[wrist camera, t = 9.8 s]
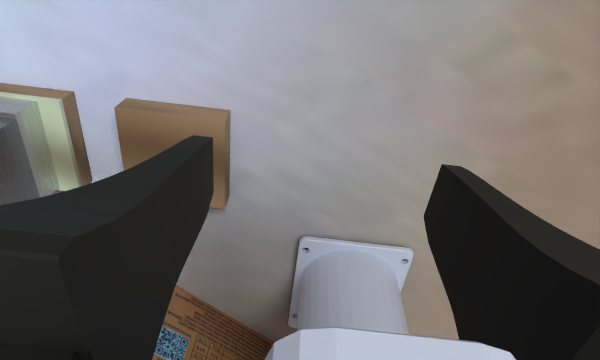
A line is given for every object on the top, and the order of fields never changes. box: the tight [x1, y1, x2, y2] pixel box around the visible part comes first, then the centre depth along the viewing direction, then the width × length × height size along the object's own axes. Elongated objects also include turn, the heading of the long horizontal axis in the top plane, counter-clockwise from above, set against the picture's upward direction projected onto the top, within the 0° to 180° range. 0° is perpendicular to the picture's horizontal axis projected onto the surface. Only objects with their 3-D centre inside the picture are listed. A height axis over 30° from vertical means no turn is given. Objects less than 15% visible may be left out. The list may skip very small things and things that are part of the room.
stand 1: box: [0, 83, 92, 191], centre depth 23 cm, size 6×6×2 cm
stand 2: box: [115, 98, 230, 209], centre depth 23 cm, size 6×6×2 cm
